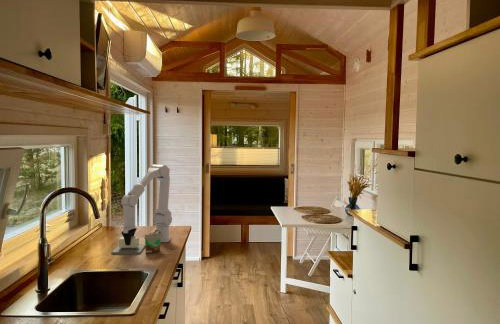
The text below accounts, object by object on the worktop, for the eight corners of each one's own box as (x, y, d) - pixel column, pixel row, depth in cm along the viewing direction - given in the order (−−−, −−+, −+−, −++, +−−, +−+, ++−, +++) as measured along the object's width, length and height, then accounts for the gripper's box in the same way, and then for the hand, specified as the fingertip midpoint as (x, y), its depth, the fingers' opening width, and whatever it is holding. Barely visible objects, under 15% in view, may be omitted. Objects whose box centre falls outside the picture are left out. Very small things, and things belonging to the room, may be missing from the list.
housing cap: (121, 244, 195) (121, 236, 195) (138, 244, 196) (138, 236, 196) (118, 247, 190) (118, 239, 190) (136, 247, 191) (136, 239, 191)
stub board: (119, 246, 200) (119, 241, 200) (145, 246, 201) (145, 241, 201) (111, 254, 186) (111, 248, 186) (139, 254, 187) (139, 248, 187)
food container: (155, 255, 185) (155, 235, 185) (144, 254, 186) (144, 235, 186) (166, 248, 197) (166, 230, 197) (155, 247, 199) (155, 229, 198)
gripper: (125, 215, 199) (125, 239, 200) (117, 220, 185) (117, 247, 186) (138, 215, 200) (138, 239, 201) (131, 220, 186) (131, 247, 186)
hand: (129, 243), depth 193 cm, fingers closed on housing cap, 5 cm apart
